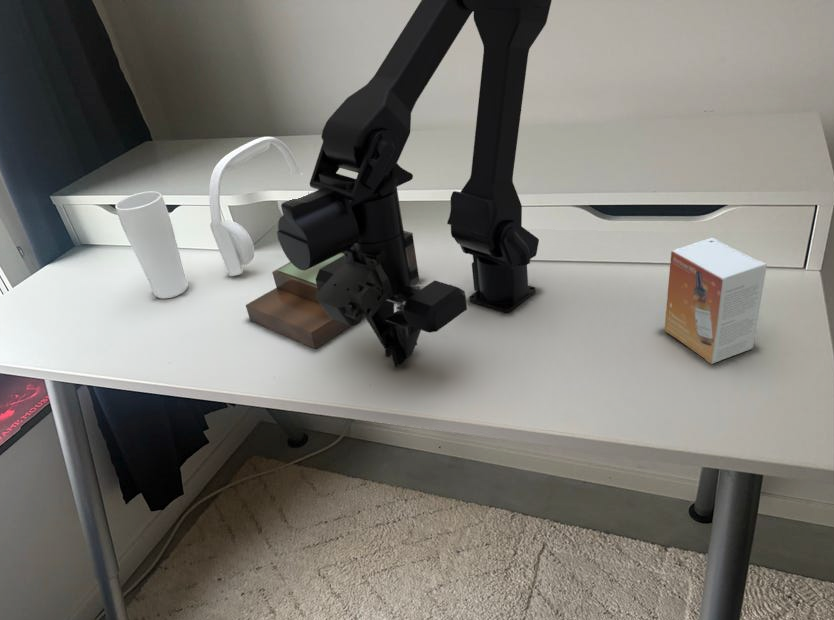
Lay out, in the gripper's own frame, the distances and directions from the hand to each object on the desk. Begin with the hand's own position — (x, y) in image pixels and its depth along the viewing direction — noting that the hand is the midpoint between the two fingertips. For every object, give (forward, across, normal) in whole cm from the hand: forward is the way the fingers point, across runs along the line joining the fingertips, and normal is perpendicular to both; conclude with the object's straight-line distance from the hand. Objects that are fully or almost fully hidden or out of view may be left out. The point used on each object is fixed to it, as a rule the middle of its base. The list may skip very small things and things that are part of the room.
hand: (398, 352), depth 86 cm
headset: (+1, -40, +12) cm, 42 cm away
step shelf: (+1, -18, +6) cm, 19 cm away
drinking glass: (+1, -44, -5) cm, 44 cm away
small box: (+1, +28, +21) cm, 35 cm away
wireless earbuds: (+1, 0, 0) cm, 1 cm away
